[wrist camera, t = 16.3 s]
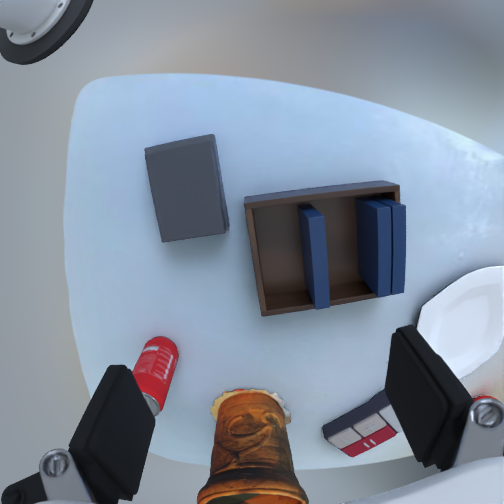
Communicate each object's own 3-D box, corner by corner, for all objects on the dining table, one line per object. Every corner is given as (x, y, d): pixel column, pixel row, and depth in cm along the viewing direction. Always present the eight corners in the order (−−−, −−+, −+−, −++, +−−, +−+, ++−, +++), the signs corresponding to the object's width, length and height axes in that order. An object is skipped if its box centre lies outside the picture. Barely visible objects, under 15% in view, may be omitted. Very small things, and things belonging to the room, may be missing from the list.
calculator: (323, 441, 45) (399, 400, 42) (321, 423, 49) (392, 383, 46) (351, 460, 48) (418, 424, 44) (347, 444, 52) (411, 409, 48)
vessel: (287, 374, 44) (304, 485, 25) (299, 428, 49) (313, 521, 30) (197, 388, 45) (178, 494, 26) (222, 438, 50) (215, 530, 31)
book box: (244, 196, 36) (244, 203, 32) (383, 180, 35) (399, 184, 31) (260, 299, 40) (261, 316, 36) (385, 278, 40) (399, 293, 35)
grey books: (149, 148, 34) (138, 148, 30) (214, 134, 34) (210, 132, 30) (166, 235, 37) (157, 245, 34) (229, 225, 37) (227, 234, 33)
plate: (407, 396, 47) (411, 403, 45) (403, 292, 40) (409, 298, 38) (498, 349, 45) (503, 354, 43) (509, 246, 38) (516, 250, 36)
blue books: (354, 197, 35) (376, 208, 29) (379, 195, 35) (405, 205, 29) (358, 274, 39) (377, 298, 32) (381, 270, 38) (404, 292, 32)
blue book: (297, 205, 36) (308, 218, 29) (310, 203, 36) (324, 216, 29) (305, 283, 39) (315, 309, 32) (317, 281, 39) (330, 307, 32)
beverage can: (178, 335, 42) (159, 393, 31) (181, 363, 44) (164, 421, 32) (144, 332, 42) (116, 386, 31) (148, 359, 44) (125, 415, 32)
